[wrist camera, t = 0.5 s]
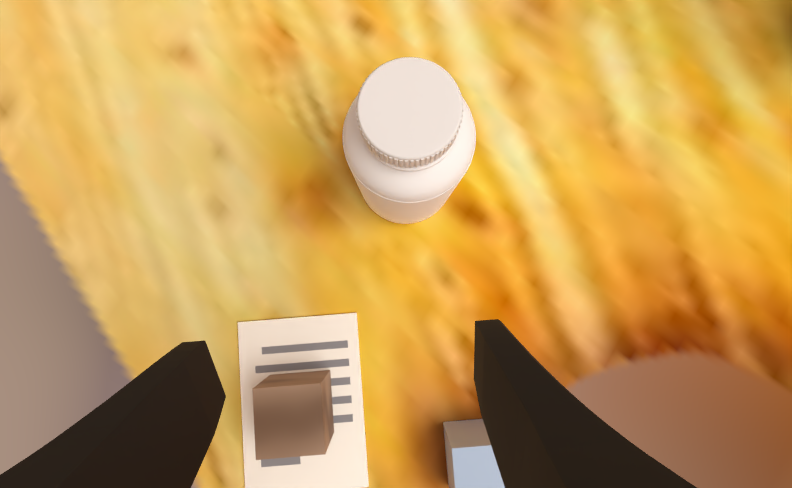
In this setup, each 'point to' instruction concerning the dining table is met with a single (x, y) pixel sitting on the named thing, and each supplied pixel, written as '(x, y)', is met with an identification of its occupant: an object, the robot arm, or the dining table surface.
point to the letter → (338, 352)
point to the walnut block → (293, 415)
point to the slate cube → (470, 456)
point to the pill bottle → (408, 139)
